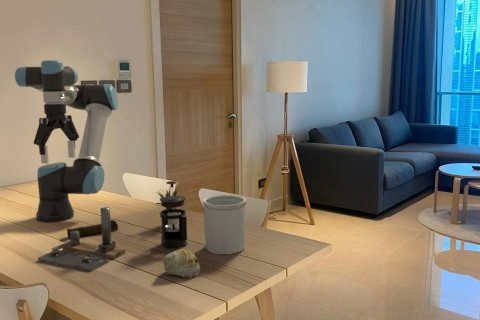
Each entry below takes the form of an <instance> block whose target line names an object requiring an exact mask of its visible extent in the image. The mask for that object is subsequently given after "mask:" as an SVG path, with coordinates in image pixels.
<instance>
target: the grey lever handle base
mask: <svg viewBox="0 0 480 320" xmlns="http://www.w3.org/2000/svg"><path fill="white" fill-rule="evenodd" d="M97 248H99V244H96V243H91V242H83V241H81V240H80V236H79V231H72V232H70V239H69V240H68V241H67V242H64V243H61V244H59V245H56V246H54V247H52V248H51V252H52V253H53V254H54V253H55V252H56V250H61V249H62V251H66V252H71V253H77V254H82V255H85V254H87V253H89V252H91V251H93V250H95V249H97ZM125 254H126V249H125V248H121V247H116V248H114V249H112V250H110V251H108V252H102V251H100V252H98V253H96V254H94V255H92V256H94V257H99V258H105V259H108V260H109V259H110V260H115V259H118V258H119V257H122V256H123V255H125Z"/></svg>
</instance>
